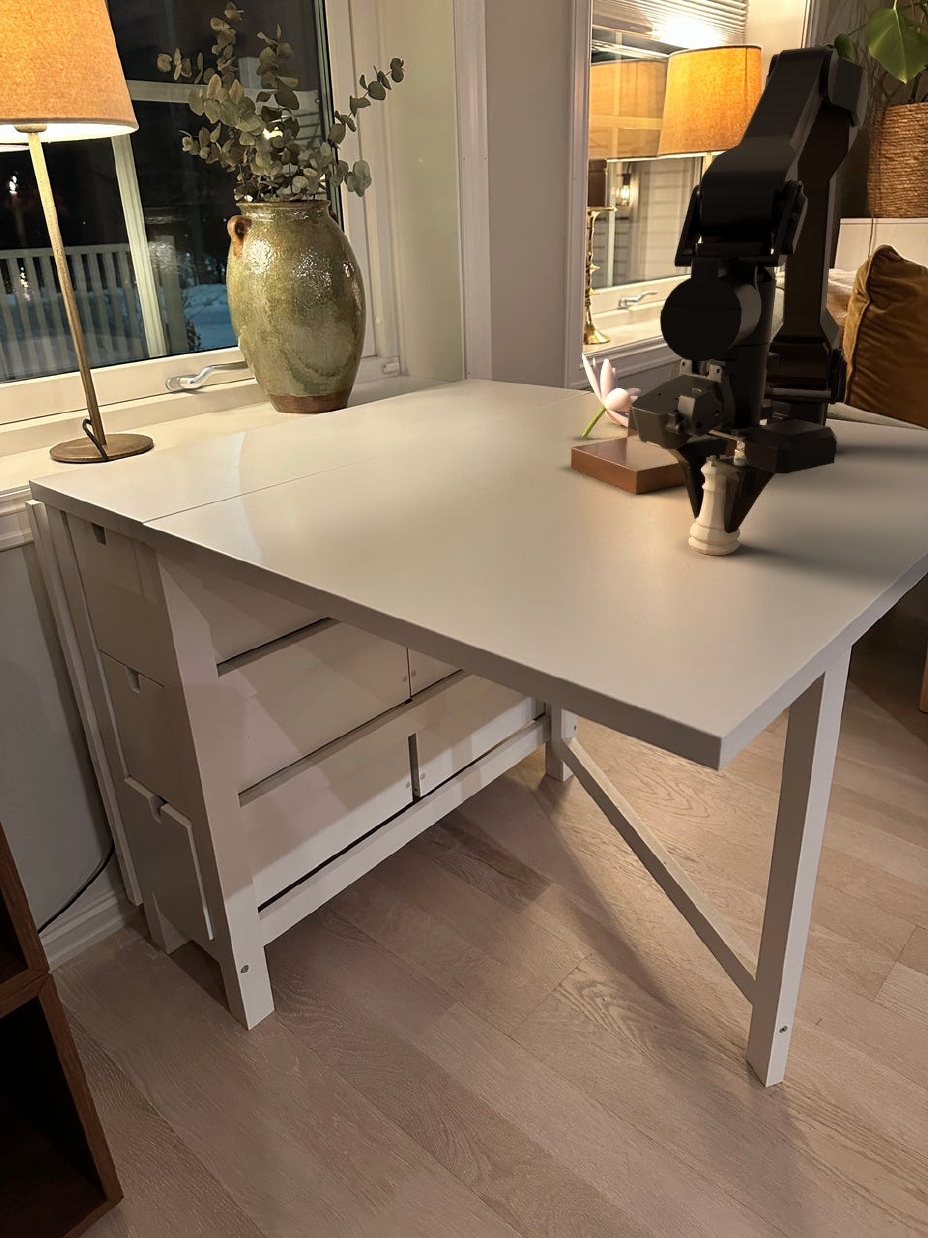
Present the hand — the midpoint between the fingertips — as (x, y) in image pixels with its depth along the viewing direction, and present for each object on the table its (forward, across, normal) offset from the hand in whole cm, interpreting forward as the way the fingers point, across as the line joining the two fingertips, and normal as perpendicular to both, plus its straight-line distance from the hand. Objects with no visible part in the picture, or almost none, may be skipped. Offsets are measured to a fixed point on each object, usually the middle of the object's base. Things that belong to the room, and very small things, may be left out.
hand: (715, 525), depth 78 cm
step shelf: (+2, -22, +12) cm, 25 cm away
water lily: (+2, -37, +18) cm, 41 cm away
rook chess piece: (+2, 0, 0) cm, 2 cm away
